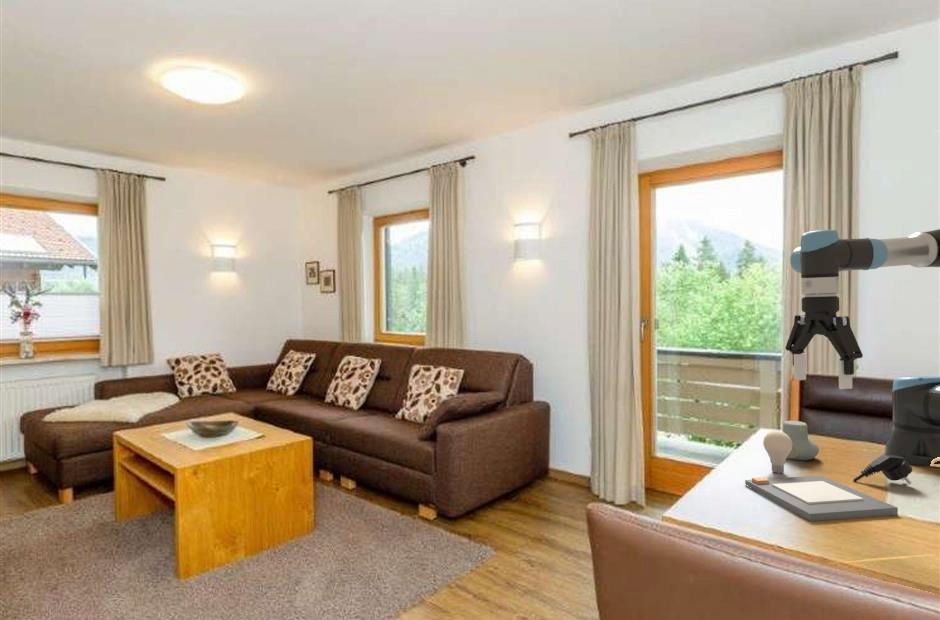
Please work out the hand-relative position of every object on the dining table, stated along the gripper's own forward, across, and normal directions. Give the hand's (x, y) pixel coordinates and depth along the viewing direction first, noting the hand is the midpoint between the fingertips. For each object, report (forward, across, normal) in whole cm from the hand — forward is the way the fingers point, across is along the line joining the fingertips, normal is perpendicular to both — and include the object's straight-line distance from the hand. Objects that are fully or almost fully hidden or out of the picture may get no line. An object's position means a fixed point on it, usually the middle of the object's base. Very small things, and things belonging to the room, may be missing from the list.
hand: (821, 384), depth 124 cm
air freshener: (+25, -20, +9) cm, 33 cm away
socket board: (+24, +8, -9) cm, 27 cm away
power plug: (+27, 0, +10) cm, 29 cm away
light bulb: (+24, -9, -5) cm, 27 cm away
